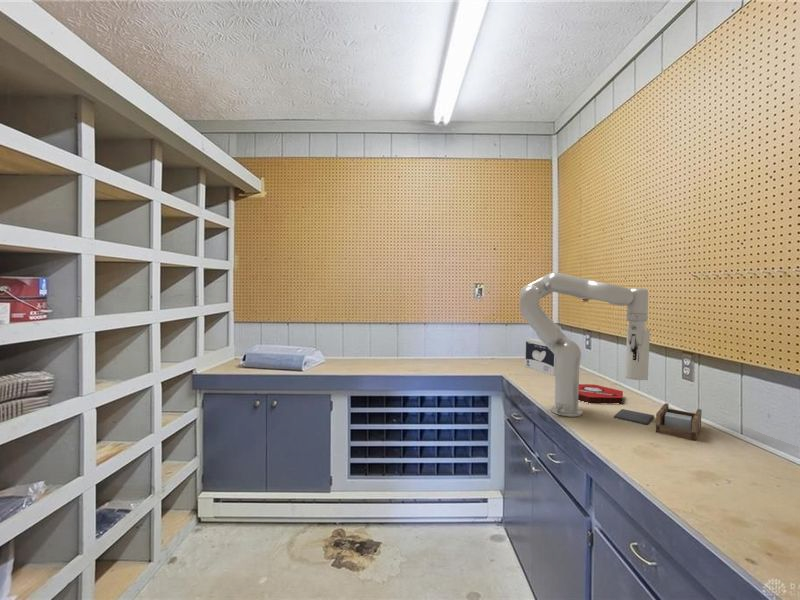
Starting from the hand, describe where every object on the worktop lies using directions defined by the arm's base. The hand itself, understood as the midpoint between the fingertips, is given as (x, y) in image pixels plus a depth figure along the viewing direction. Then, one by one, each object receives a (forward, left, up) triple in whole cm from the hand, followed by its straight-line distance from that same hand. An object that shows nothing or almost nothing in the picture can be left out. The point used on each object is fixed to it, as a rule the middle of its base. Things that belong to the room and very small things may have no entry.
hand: (635, 360), depth 162 cm
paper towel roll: (0, 0, -8) cm, 8 cm away
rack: (-4, -16, -24) cm, 29 cm away
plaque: (+23, +23, -25) cm, 41 cm away
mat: (0, 0, -24) cm, 24 cm away
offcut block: (-6, -16, -24) cm, 30 cm away
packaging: (+68, +67, -24) cm, 99 cm away
